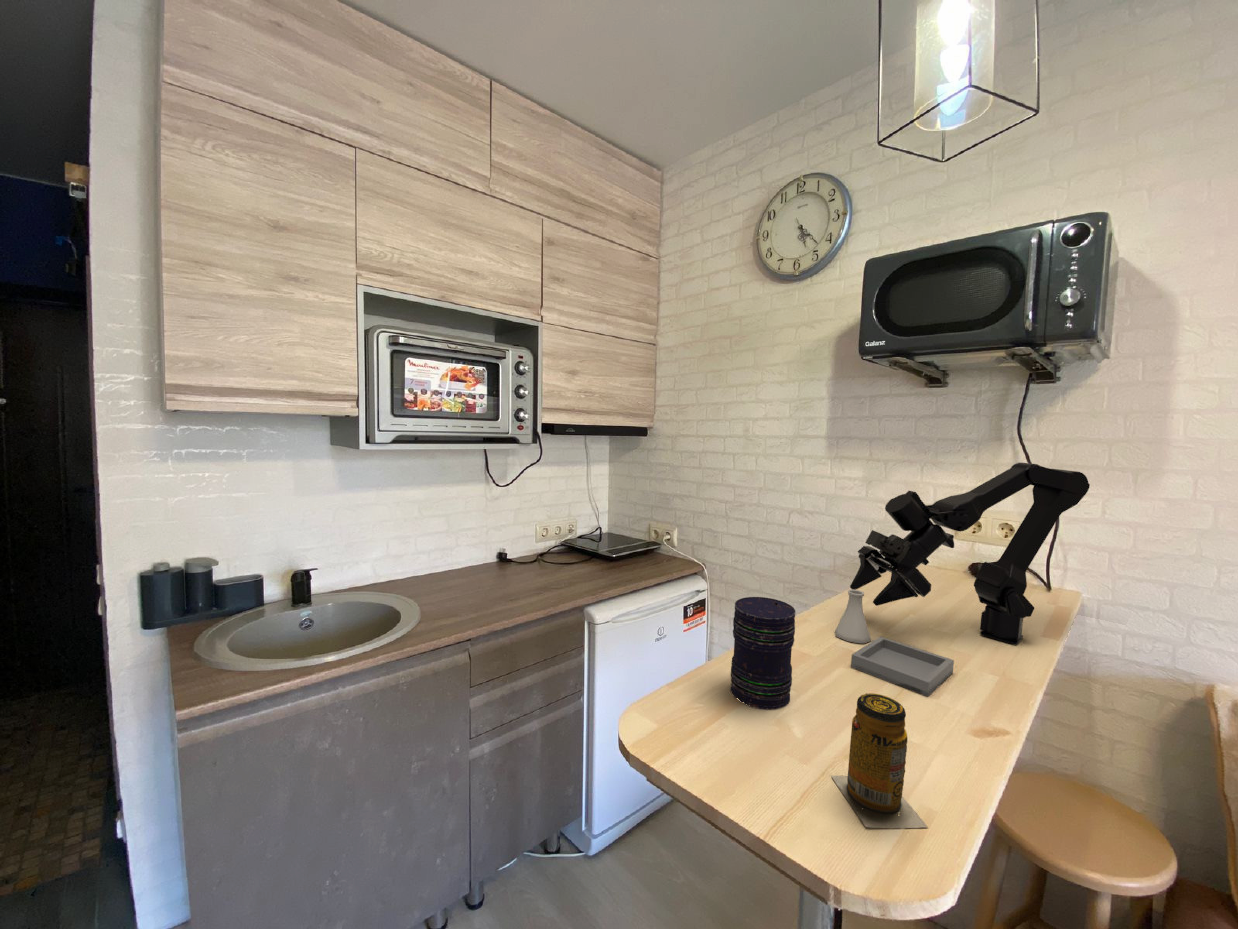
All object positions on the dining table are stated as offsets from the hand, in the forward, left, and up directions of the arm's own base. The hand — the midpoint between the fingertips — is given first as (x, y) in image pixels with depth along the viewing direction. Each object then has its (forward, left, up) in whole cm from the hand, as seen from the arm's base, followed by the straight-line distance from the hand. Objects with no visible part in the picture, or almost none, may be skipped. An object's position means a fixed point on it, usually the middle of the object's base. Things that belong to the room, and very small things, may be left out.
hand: (862, 596), depth 109 cm
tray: (-12, +9, -9) cm, 17 cm away
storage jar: (0, +37, -9) cm, 38 cm away
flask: (+1, +1, -9) cm, 9 cm away
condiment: (-23, +47, -9) cm, 53 cm away
